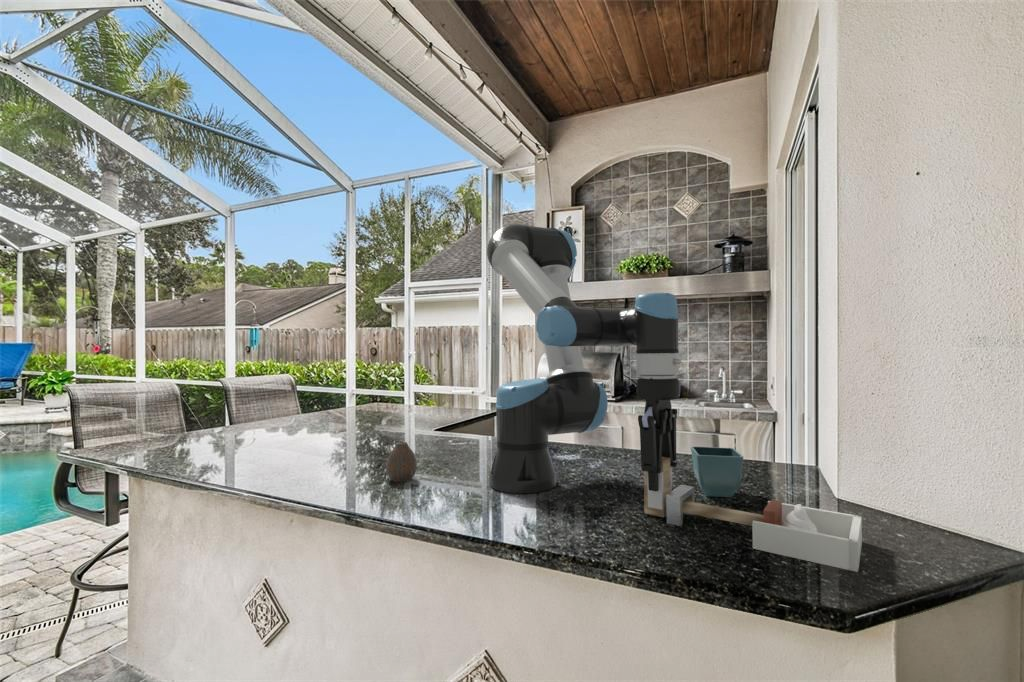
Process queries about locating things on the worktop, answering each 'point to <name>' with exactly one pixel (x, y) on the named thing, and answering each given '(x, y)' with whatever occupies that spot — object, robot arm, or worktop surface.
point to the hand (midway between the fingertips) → (660, 504)
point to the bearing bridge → (678, 504)
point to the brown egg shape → (401, 463)
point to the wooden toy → (770, 512)
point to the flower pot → (717, 470)
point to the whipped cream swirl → (799, 520)
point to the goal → (814, 538)
